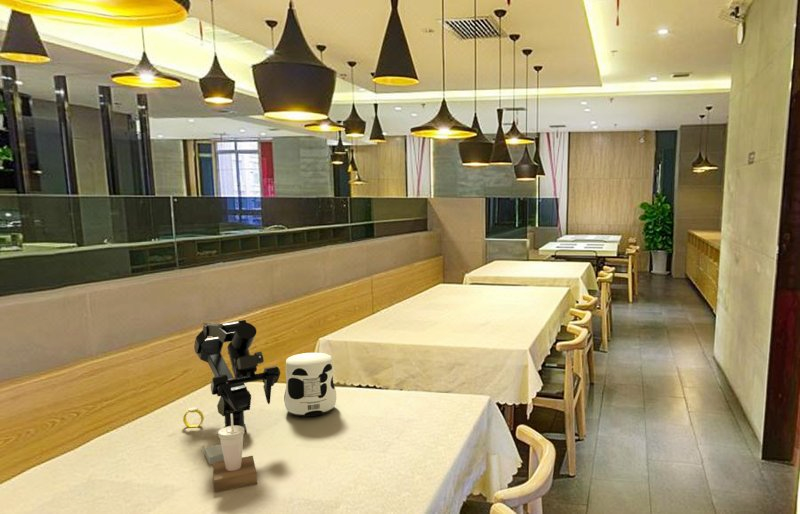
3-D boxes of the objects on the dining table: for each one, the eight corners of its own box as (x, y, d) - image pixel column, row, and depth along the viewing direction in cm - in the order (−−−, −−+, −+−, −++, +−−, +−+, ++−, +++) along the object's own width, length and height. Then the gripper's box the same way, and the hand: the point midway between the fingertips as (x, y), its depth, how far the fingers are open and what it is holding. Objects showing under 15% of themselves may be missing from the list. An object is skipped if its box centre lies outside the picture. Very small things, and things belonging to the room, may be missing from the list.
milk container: (311, 398, 196) (309, 349, 195) (347, 407, 186) (345, 355, 184) (273, 414, 182) (271, 361, 181) (311, 424, 172) (308, 368, 170)
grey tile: (204, 454, 153) (204, 447, 152) (230, 448, 156) (229, 441, 156) (209, 464, 147) (209, 457, 146) (236, 458, 150) (235, 451, 150)
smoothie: (229, 475, 134) (226, 420, 132) (215, 468, 138) (211, 414, 137) (251, 466, 139) (248, 412, 137) (237, 459, 143) (234, 407, 141)
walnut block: (213, 473, 141) (212, 462, 141) (253, 466, 145) (252, 455, 144) (214, 492, 132) (213, 480, 132) (257, 483, 135) (256, 472, 135)
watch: (204, 425, 175) (204, 407, 174) (201, 429, 172) (201, 410, 171) (185, 424, 175) (185, 406, 174) (182, 428, 172) (182, 410, 171)
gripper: (210, 348, 150) (221, 399, 141) (276, 338, 159) (291, 385, 150) (206, 369, 157) (216, 419, 148) (270, 359, 166) (283, 405, 158)
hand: (252, 406), depth 151 cm, fingers open, 9 cm apart
